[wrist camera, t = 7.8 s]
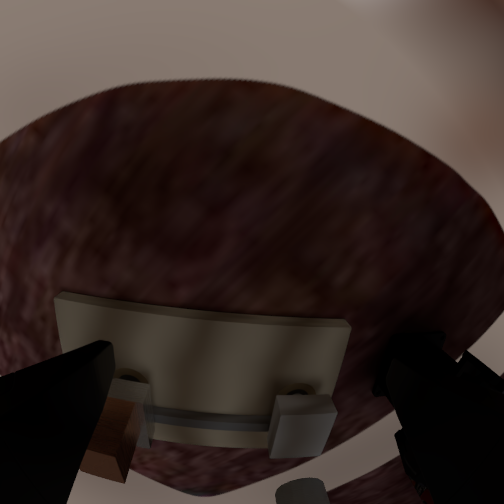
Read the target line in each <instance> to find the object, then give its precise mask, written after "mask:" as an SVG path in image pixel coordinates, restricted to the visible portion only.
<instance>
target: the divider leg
mask: <svg viewBox="0 0 504 504" xmlns="http://www.w3.org/2000/svg"><path fill="white" fill-rule="evenodd" d="M154 433H155V424H154V417H153V408H152V400H151V390H150V384H145V383H139V382H133V381H128V380H123V379H118V378H113V379H112V382H111V386H110V389H109V392H108V396H107V399H106V402H105V406H104V409H103V411H102V414H101V416H100V418H99V421H98V423H97V426H96V428H95V430H94V433H93V435H92V437H91V440H90V442H89V445H88V447H87V450H86V452H85V455H84V457H83V460H82V462H81V465H80V470H81V471H83V472H86V473H89V474H92V475H95V476H98V477H102V478H105V479H109V480H112V481H116V482H120V483H125V482H126V478H127V474H128V471H129V468H130V464H131V461H132V458H133V454H134V451H135V448H136V446H138V447H143V448H149V449H150V448H151V444H152V440H153V436H154Z"/></svg>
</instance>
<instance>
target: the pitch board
mask: <svg viewBox="0 0 504 504" xmlns="http://www.w3.org/2000/svg"><path fill="white" fill-rule="evenodd" d="M54 303H55V311H56V318H57V324H58V330H59V336H60V342H61V347H62V352H63V354H64V353H66V352H69V351H72V350H74V349H77V348H79V347H82V346H85V345H87V344H90V343H92V342H95V341H97V340H105V341H110V342H111V343H112V344H113V348H114V357H115V364H116V368H115V373H114V376H113V378H118V379H123V380H128V381H133V382H139V383H145V384H150V390H151V400H152V408H153V417H154V424H155V433H154V436H153V439H157V440H163V441H170V442H177V443H185V444H194V445H204V446H216V447H233V448H268V450H269V457H270V458H295V457H309V456H320V455H321V452H322V450H323V448H324V446H325V443H326V441H327V438H328V436H329V434H330V431H331V429H332V426H333V424H334V421H335V418H336V416H337V413H338V412H337V410H336V408H335V406H334V404H333V401H332V399H331V397H332V394H333V390H334V387H335V384H336V381H337V378H338V375H339V371H340V368H341V364H342V361H343V358H344V354H345V350H346V347H347V343H348V339H349V336H350V332H351V326H350V325H349V324H348V323H347V321H346V320H345V319H324V318H299V317H279V316H263V315H249V314H236V313H224V312H213V311H202V310H192V309H183V308H174V307H165V306H157V305H149V304H141V303H134V302H127V301H120V300H113V299H106V298H100V297H94V296H88V295H82V294H76V293H70V292H65V291H63V292H61V293H60V294H58V295H57V296H56V297H54Z"/></svg>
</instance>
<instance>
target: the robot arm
mask: <svg viewBox="0 0 504 504" xmlns="http://www.w3.org/2000/svg"><path fill="white" fill-rule="evenodd" d="M441 336H442V337H441ZM396 339H397V341H395V340H396ZM445 339H446V334H445V333H444V332H443V331H439V332H423V333H403V334H395V335H393V336H392V337H391V339H390V343H389V346H388V349H387V352H386V355H385V358H384V360H383V363H382V366H381V369H380V371H379V374H378V377H377V379H376V383H375V385H374V388H373V391H372V393H373V395H374V396H375V397H379V396H386V397H387V398H388V400H389V401H390V403H391V404H392V405H393V407H394V408H395V411H396V414H397V416H398V419H399V421H400V423H401V426H402V429H401V430H398V431H397V432H396V433H395V435H394V436H395V439H396V442H397V446H398V449H399V453H400V456H401V459H402V463H403V466H404V469H405V473H406V474H407V475H408V476H409V478H410V479H411V480H413V481H415V482H416V483H417V484H419V485H420V486H422V487H425V488H427V489H428V490H429V492H430V495H431V497H432V500H433V502H434V504H504V380H503V379H502V378H501V377H500V376H498V375H497V374H496V373H495V372H493V371H492V370H491V369H490V368H489V367H487V366H486V365H485V364H484V363H482V362H481V361H480V360H479V359H477V358H476V357H475V356H473V355H472V354H471V353H469V352H468V351H467V350H465V352H464V353H463V355H462V358H461V359H460V361H459V362H458V363H457V362H456V361H455V360H454V359H452V358H451V357H450V356H449V355H448V354H447V353H446V352H444V351H443V350H442V347H443V344H444V341H445ZM115 368H116V364H115V357H114V348H113V344H112V343H111V342H110V341H105V340H97V341H95V342H92V343H90V344H87V345H85V346H82V347H79V348H77V349H74V350H72V351H69V352H66V353H64V354H61V355H59V356H56V357H53V358H51V359H48V360H45V361H43V362H40V363H37V364H35V365H32V366H29V367H27V368H24V369H21V370H18V371H16V372H15V373H14V372H13V373H10V374H7V375H5V376H2V377H0V504H67V501H68V498H69V495H70V492H71V489H72V487H73V483H74V481H75V478H76V475H77V473H78V470H79V468H80V465H81V462H82V460H83V457H84V455H85V452H86V450H87V447H88V445H89V442H90V440H91V437H92V435H93V433H94V430H95V428H96V426H97V423H98V421H99V418H100V416H101V414H102V411H103V409H104V406H105V402H106V399H107V396H108V392H109V389H110V386H111V382H112V379H113V376H114V373H115ZM377 391H378V392H377Z"/></svg>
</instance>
